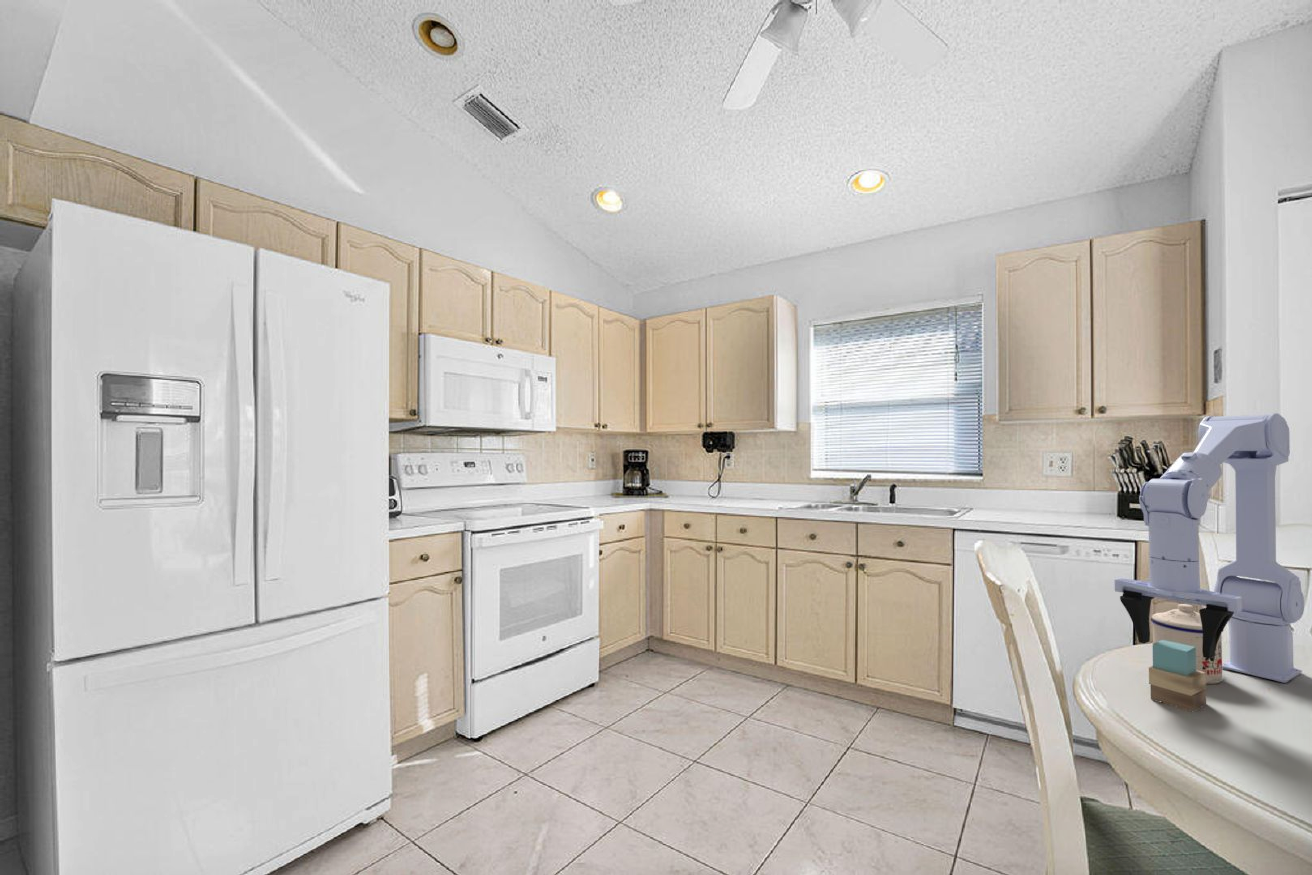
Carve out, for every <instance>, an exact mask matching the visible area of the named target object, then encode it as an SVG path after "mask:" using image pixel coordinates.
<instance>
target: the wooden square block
mask: <svg viewBox="0 0 1312 875" xmlns="http://www.w3.org/2000/svg"><path fill="white" fill-rule="evenodd" d="M1151 699H1154V700H1156V701H1155V702H1158V701H1161V702H1164V703H1163V704H1165V703H1166V704H1165V705H1168V704H1169V706H1172V707H1175V706H1177V707H1176V708H1179V709H1182V710H1186V711H1189V710H1190V712H1192V711H1193V713H1194V712H1196V711H1198V710H1200V709H1201V708H1203V707H1204V706H1206V705H1207V688H1206V689H1205V690H1203V691H1201V692H1199V693H1196V694H1194V695H1192V696H1190V695H1186V694H1183V693H1179V692H1176V691H1172V690H1169V689H1165V688H1162V687H1158V686H1155V685H1151V684H1150V700H1151ZM1154 700H1153V701H1154ZM1161 702H1160V703H1161ZM1202 706H1203V707H1202ZM1195 710H1196V711H1195Z"/></svg>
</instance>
